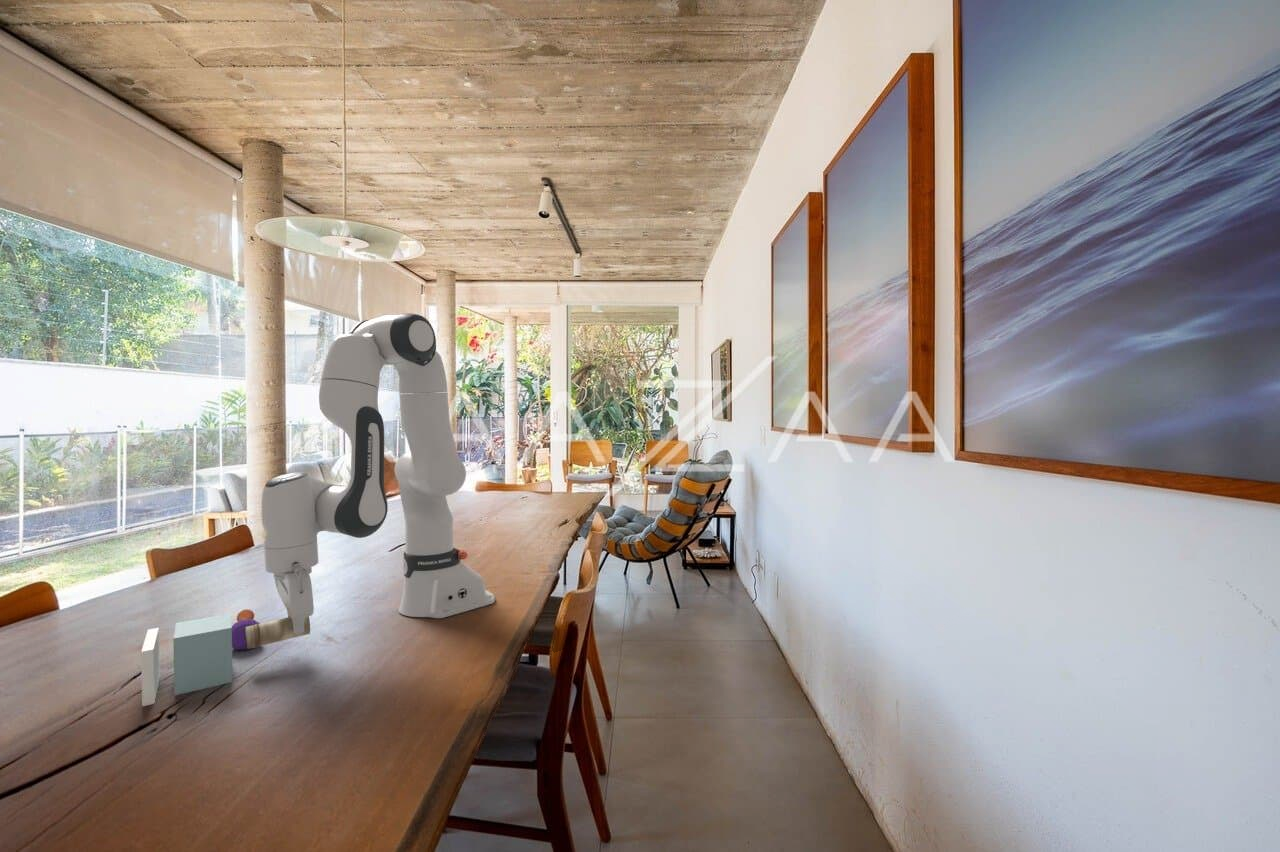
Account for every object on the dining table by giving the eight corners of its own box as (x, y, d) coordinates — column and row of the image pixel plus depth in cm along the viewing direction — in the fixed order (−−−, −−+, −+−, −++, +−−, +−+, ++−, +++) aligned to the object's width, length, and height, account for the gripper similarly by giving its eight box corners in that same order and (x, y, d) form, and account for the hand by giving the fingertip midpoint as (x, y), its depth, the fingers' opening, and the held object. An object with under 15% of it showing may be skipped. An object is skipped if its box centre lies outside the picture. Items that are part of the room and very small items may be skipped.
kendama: (263, 603, 132) (265, 622, 115) (258, 630, 131) (259, 653, 115) (232, 603, 129) (230, 622, 112) (226, 630, 128) (223, 654, 111)
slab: (159, 676, 103) (158, 627, 103) (154, 703, 93) (153, 649, 93) (148, 679, 102) (147, 629, 102) (142, 706, 92) (141, 651, 92)
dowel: (307, 630, 113) (306, 610, 113) (310, 637, 110) (309, 616, 110) (246, 644, 107) (245, 623, 107) (248, 652, 104) (247, 630, 104)
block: (231, 664, 108) (230, 613, 108) (232, 682, 101) (231, 627, 101) (177, 676, 103) (176, 622, 103) (174, 695, 96) (173, 638, 96)
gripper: (320, 565, 104) (324, 639, 104) (302, 545, 119) (306, 609, 120) (279, 573, 100) (284, 650, 100) (266, 550, 116) (271, 617, 116)
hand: (296, 627), depth 110 cm, fingers closed on dowel, 4 cm apart
